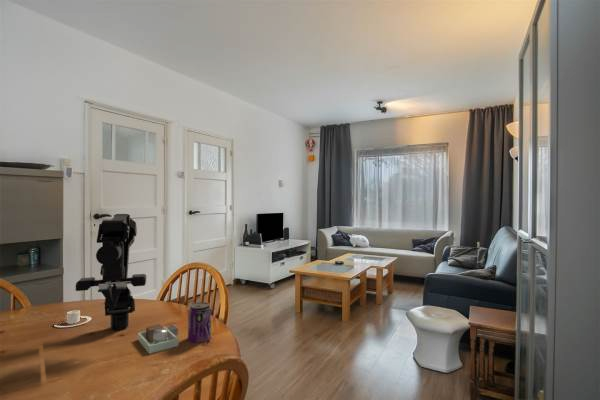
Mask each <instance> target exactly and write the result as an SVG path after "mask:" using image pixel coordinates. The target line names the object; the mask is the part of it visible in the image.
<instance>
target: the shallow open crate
mask: <svg viewBox="0 0 600 400" xmlns="http://www.w3.org/2000/svg"><path fill="white" fill-rule="evenodd" d="M162 327H163V328H166V329H167V341H165V342H161V343H157V344H153V342H151V343H149V342H148V340H147V339H146V330H145V331H144V330H143V331H140V332H138V333H137V341H138V342H139V344H140V345H142V347H143V348H144V349H145V350H146V352H147V353H148V355H149V354H156V353H157V352H161V351H166V350H169V349H176V348H177V347H179V342H180V341H179V337H177V335H174V334H173V333H172V332H170V331H169V330H168V328H167V327H166V326H162Z"/></svg>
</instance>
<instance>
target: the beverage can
mask: <svg viewBox="0 0 600 400" xmlns="http://www.w3.org/2000/svg"><path fill="white" fill-rule="evenodd" d="M187 319H188V321H187V322H188V323H187V325H188V326H187V340H188V342H189V343H194V344H197V343H198V344H199V343H204V342H205V343H206V342H208V341H210V340H211V338H212V336H211V335H212V331H211V328H212V327H211V326H212V309H211V307H210V303H209V302H207V301H198V302H193V303H191V304H190V305H189V309H188V317H187Z"/></svg>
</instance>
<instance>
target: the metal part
mask: <svg viewBox="0 0 600 400" xmlns="http://www.w3.org/2000/svg"><path fill="white" fill-rule="evenodd" d="M166 328H167V327H166ZM166 328H160V329H156V330H154V331H153V344H157V343H161V342H165V341H167V329H168V328H167V329H166Z"/></svg>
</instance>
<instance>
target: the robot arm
mask: <svg viewBox="0 0 600 400" xmlns="http://www.w3.org/2000/svg"><path fill="white" fill-rule="evenodd" d="M97 231H98V232H97V236H96V243H97V244H102V245H101V246H100V247H99V248H98V249H97V251H96V254H95V258H96V261H97V262H98V263H99V264H100V265H101V266H100V275H101V276H102V279H96V278H95V277H94V276H93V277H81V278H80V279H79V280H77V281H76V283H75V291H76V292H82V291H88V290H90V289H91V287H98V289H97V292H98V293H101V294H102V296H103V297H104V315H105V316H106V317H107V316H110V324H109V325H110V327H107V329H108V330H112V331H124V330H126V329H128V327H129V325H130V324H129V323H130V322H129V321H130V320H129V318H130V317H129V314H133V312H135V311H136V303H135V299H134V297H133V295H132V292H131V289H130V288H129V286H128V285H129V284H131V286H133V287H143V286H146V284H147V275H146V274H145V273H138V274H137V273H136V274H132V276H131V277H128V273H129V256H130V248H131V246H132V245H133V244H134V243H135V237H137V233H138V232H137V231H138V230H137V222H136V221H135V220H134V219H132V218H131V215H130V214H128V213H116V214H114V215H113V217H112V219H102V221H101V223H99V225H98V230H97Z"/></svg>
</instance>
